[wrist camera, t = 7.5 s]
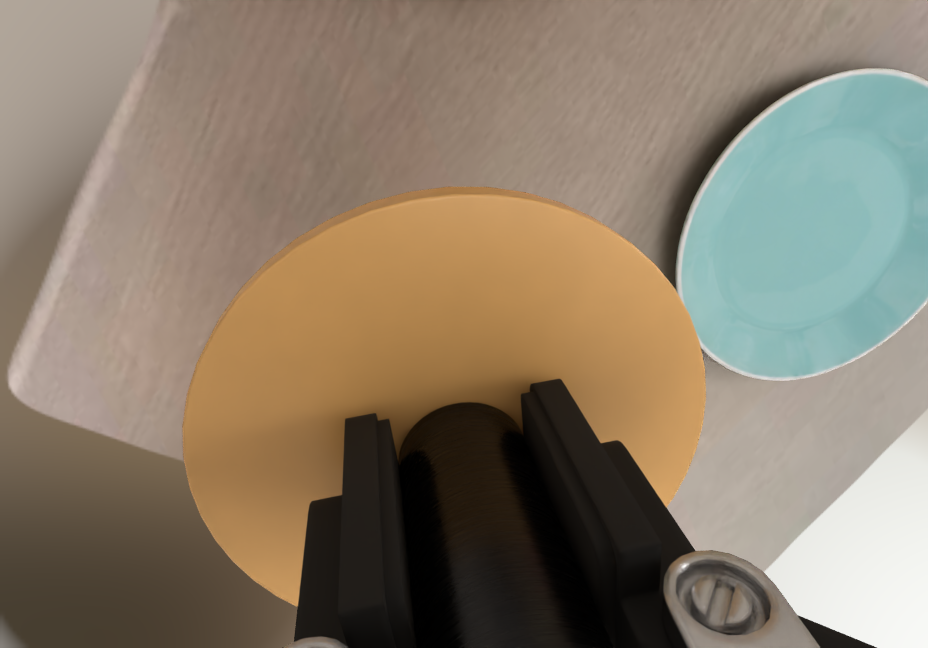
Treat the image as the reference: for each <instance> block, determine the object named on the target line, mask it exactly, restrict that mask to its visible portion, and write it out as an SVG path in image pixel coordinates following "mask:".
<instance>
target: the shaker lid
mask: <svg viewBox="0 0 928 648" xmlns="http://www.w3.org/2000/svg"><path fill="white" fill-rule="evenodd" d="M554 379H561V380H562V381H563V382H564V384H565V386H566V387H567V389H568V391H569V392H570V394H571V396H572V397H573V399H574V400H575V402H576V404H577V405H578V407H579V409H580V410H581V412H582V413H583V415H584V417H585V418H586V420H587V422H588V423H589V425H590V426H591V428H592V430H593V431H594V433H595V435H596V436H597V438H598V440H599V441H600V443H605V442H610V441H615V440H618V441H620V442H622V443H623V445H624V446H625V447H626V448H627V450H628V451H629V453H630V454H631V456H632V457H633V459H634V460H635V462H636V463H637V465H638V466H639V468H640V469H641V471H642V472H643V474H644V475H645V477H646V478H647V480H648V481H649V483H650V484H651V486H652V487H653V489H654V490H655V492H656V493H657V495H658V496H659V497H660V499H661V500H662V502H663V503H664V505H665V506H666V508H667V506H668V505H669V503H670V502H671V500H672V499H673V498H674V496H675V494H676V492H677V490H678V488H679V487H680V485H681V483H682V481H683V479H684V478H685V476H686V474H687V471H688V469H689V466H690V464H691V461H692V459H693V456H694V454H695V451H696V448H697V445H698V441H699V437H700V433H701V429H702V425H703V418H704V409H705V401H706V385H705V367H704V362H703V357H702V352H701V346H700V341H699V339H698V336H697V333H696V330H695V328H694V325H693V322H692V320H691V317H690V314H689V312H688V311H687V309H686V307H685V305H684V304H683V302H682V300H681V298H680V297H679V295H678V293H677V291H676V289H675V288H674V287H673V286H672V284H671V283H670V282H669V281H668V279H667V278H666V277H665V276H664V274H663V273H662V272H661V271H660V269H659V268H658V267H657V266H656V265H655V264H654V263H653V262H652V261H651V260H650V259H649V258H648V257H646V256H645V255H644V254H643V253H642V252H641V251H640V250H639V249H638V248H636V247H635V246H634V245H633V244H632V243H631V242H629V241H628V240H626V239H625V238H624V237H622V236H621V235H619V234H618V233H616V232H615V231H613V230H612V229H610V228H609V227H607V226H605V225H604V224H602V223H601V222H599V221H598V220H596V219H595V218H593V217H591V216H589V215H587V214H585V213H583V212H580V211H578V210H576V209H574V208H571V207H569V206H567V205H565V204H563V203H560V202H557V201H554V200H550V199H547V198H543V197H540V196H536V195H533V194H529V193H526V192H519V191H512V190H505V189H498V188H491V187H443V188H435V189H428V190H420V191H412V192H406V193H403V194H399V195H395V196H391V197H388V198H384V199H380V200H376V201H372V202H369V203H367V204H364V205H362V206H359V207H357V208H354V209H352V210H350V211H347V212H345V213H342V214H340V215H337V216H335V217H333V218H331V219H329V220H327V221H325V222H324V223H322V224H320V225H319V226H317V227H315V228H313V229H312V230H310V231H308V232H306V233H305V234H303V235H301V236H300V237H298V238H296V239H295V240H294V241H293V242H291V243H290V244H289V245H287V246H286V247H285V248H284V249H282V250H281V251H280V252H278V253H277V254H276V255H275V256H273V257H272V258H271V259H269V260H268V261H267V262H266V263H265V264H264V265H263V266H262V267H261V268H260V269H259V270H258V271H257V272H256V273H255V274H254V275H253V276H252V277H251V278H250V279H249V280H248V282H247V283H246V284H245V285H244V286H243V287H242V288H241V289H240V290H239V292H238V293H237V294H236V296H235V297H234V299H233V300H232V301H231V303H230V304H229V306H228V307H227V308H226V310H225V311H224V313H223V314H222V315H221V317H220V318H219V320H218V322H217V324H216V326H215V328H214V330H213V332H212V334H211V336H210V338H209V340H208V342H207V344H206V346H205V348H204V350H203V352H202V354H201V356H200V358H199V360H198V362H197V364H196V368H195V371H194V374H193V377H192V380H191V383H190V387H189V390H188V393H187V398H186V405H185V412H184V419H183V426H182V428H183V458H184V462H185V467H186V472H187V476H188V482H189V487H190V489H191V492H192V494H193V497H194V500H195V502H196V505H197V507H198V510H199V512H200V515H201V517H202V518H203V520H204V522H205V524H206V525H207V527H208V528H209V530H210V532H211V534H212V535H213V537H214V538H215V540H216V541H217V542H218V544H219V545H220V546H221V547H222V549H223V550H224V551H225V552H226V554H227V555H228V556H229V557H230V558H231V560H232V561H233V562H234V563H235V564H236V565H238V566H239V567H240V568H241V569H242V570H243V571H244V572H245V573H246V574H247V575H248V576H250V577H251V578H252V579H253V580H254V581H256V582H257V583H258V584H260V585H261V586H263V587H264V588H266V589H267V590H269V591H270V592H271V593H273V594H274V595H276V596H277V597H279V598H281V599H283V600H285V601H287V602H289V603H291V604H293V605H295V606H297V607H298V601H299V591H300V582H301V573H302V564H303V555H304V546H305V537H306V527H307V518H308V510H309V505H310V503H311V501H314V500H319V499H324V498H329V497H334V496H339V495H342V484H343V457H344V431H345V419H346V418H351V417H356V416H362V415H367V414H372V413H376V414H377V418H378V421H379V420H384V419H389V421H390V425H391V430H392V434H393V439H394V444H395V449H396V454H397V459H398V464H399V469H400V479H401V490H402V500H403V510H404V521H405V531H406V541H407V551H408V562H409V572H410V582H411V592H412V603H413V613H414V623H415V634H416V644H417V648H614V646H613V644H612V642H611V639H610V637H609V635H608V632H607V630H606V628H605V625H604V623H603V621H602V618H601V617H600V615H599V612H598V610H597V608H596V605H595V603H594V601H593V598H592V596H591V594H590V591H589V589H588V586H587V584H586V582H585V579H584V577H583V575H582V572H581V570H580V568H579V565H578V563H577V561H576V558H575V556H574V554H573V551H572V549H571V547H570V544H569V542H568V540H567V537H566V535H565V533H564V530H563V528H562V525H561V523H560V521H559V518H558V516H557V514H556V511H555V509H554V507H553V504H552V502H551V500H550V497H549V495H548V493H547V490H546V488H545V486H544V483H543V481H542V479H541V476H540V474H539V471H538V469H537V467H536V464H535V462H534V460H533V457H532V455H531V453H530V450H529V448H528V446H527V443H526V441H525V439H524V435H523V423H522V410H521V394H522V393H527V392H530V385H531V384H533V383H538V382H543V381H549V380H554Z"/></svg>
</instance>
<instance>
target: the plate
mask: <svg viewBox="0 0 928 648" xmlns="http://www.w3.org/2000/svg"><path fill="white" fill-rule="evenodd" d="M675 280H676V291H677V293H678V295H679V297H680V298H681V300H682V302H683V304H684V305H685V307H686V309H687V311H688V312H689V314H690V317H691V320H692V322H693V325H694V328H695V330H696V333H697V336H698V339H699V341H700V346H701V349H702V350H703V351H704V352H705V353H706V354H707V355H708V356H710V357H711V358H712V359H713V360H714V361H716V362H717V363H719V364H720V365H722V366H723V367H725V368H727V369H729V370H731V371H733V372H736V373H738V374H741V375H744V376H747V377H751V378H755V379H760V380H771V381H787V380H797V379H803V378H808V377H813V376H816V375H820V374H824V373H827V372H830V371H832V370H835V369H837V368H840V367H842V366H844V365H846V364H848V363H851V362H853V361H855V360H857V359H858V358H860V357H862V356H864V355H866V354H867V353H869V352H870V351H872V350H874V349H875V348H877V347H878V346H880V345H881V344H883V343H884V342H885V341H887V340H888V339H889V338H891V337H892V336H893V335H894V334H896V333H897V332H898V331H899V330H900V329H901V328H903V327H904V326H905V325H906V324H907V323H908V322H909V321H910V320H911V319H912V318H913V317H914V316H915V315H916V314H917V313H918V312H919V311H920V310H921V309H922V308H923V307H924V305H925V304H926V303H927V302H928V81H927V80H925V79H923V78H921V77H919V76H916V75H914V74H911V73H907V72H904V71H899V70H895V69H885V68H865V69H855V70H849V71H844V72H839V73H835V74H832V75H828V76H825V77H822V78H820V79H817V80H814V81H812V82H809V83H807V84H805V85H803V86H801V87H799V88H797V89H795V90H793V91H792V92H790V93H788V94H786V95H785V96H783V97H782V98H780V99H779V100H777V101H776V102H774V103H773V104H772V105H770V106H769V107H767V108H766V109H765V110H764V111H762V112H761V113H760V114H759V115H758V116H756V117H755V118H754V119H753V120H752V121H751V122H750V123H749V124H748V125H747V126H745V127H744V128H743V129H742V130H741V131H740V132H739V134H738V135H737V136H736V137H735V138H734V139H733V140H732V141H731V142H730V143H729V144H728V146H727V147H726V148H725V149H724V151H723V152H722V153H721V154H720V156H719V157H718V158H717V160H716V161H715V163H714V164H713V166H712V167H711V169H710V170H709V172H708V173H707V175H706V177H705V178H704V180H703V182H702V184H701V186H700V187H699V189H698V191H697V193H696V195H695V197H694V199H693V201H692V204H691V206H690V209H689V211H688V214H687V217H686V219H685V222H684V225H683V229H682V233H681V236H680V241H679V246H678V252H677V259H676V279H675Z"/></svg>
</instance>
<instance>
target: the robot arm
mask: <svg viewBox="0 0 928 648" xmlns="http://www.w3.org/2000/svg"><path fill="white" fill-rule="evenodd" d="M521 410H522V423H523V435H524V439H525V441H526V443H527V446H528V448H529V450H530V453H531V455H532V457H533V460H534V462H535V464H536V467H537V469H538V471H539V474H540V476H541V479H542V481H543V483H544V486H545V488H546V490H547V493H548V495H549V497H550V500H551V502H552V504H553V507H554V509H555V511H556V514H557V516H558V518H559V521H560V523H561V525H562V528H563V530H564V533H565V535H566V537H567V540H568V542H569V544H570V547H571V549H572V551H573V554H574V556H575V558H576V561H577V563H578V565H579V568H580V570H581V572H582V575H583V577H584V579H585V582H586V584H587V586H588V589H589V591H590V594H591V596H592V598H593V601H594V603H595V605H596V608H597V610H598V612H599V615H600V617H601V618H602V621H603V623H604V625H605V628H606V630H607V632H608V635H609V637H610V639H611V642H612V644H613V646H614V648H876V647H874V646H872V645H869V644H866V643H864V642H862V641H859V640H857V639H854V638H852V637H849V636H847V635H845V634H842V633H840V632H837V631H835V630H832V629H830V628H827V627H825V626H823V625H820V624H818V623H815V622H813V621H810V620H808V619H805V618H803V617H800V616H798V615H797V614H796V613H795V612H794V610H793V609H792V607H791V606H790V605H789V603H788V602H787V600H786V599H785V598H784V597H783V595H782V594H781V592H780V591H779V589H778V588H777V587H776V585H775V584H774V583H773V582H772V581H771V580H770V579H769V578H768V577H767V575H766V574H765V573H764V572H763V571H761V570H760V569H758V568H757V567H755V566H754V565H753V564H751V563H750V562H748V561H746V560H744V559H741V558H739V557H737V556H734V555H732V554H729V553H724V552H718V551H713V550H709V551H695V550H694V548H693V547H692V545H691V544H690V542H689V541H688V539H687V538H686V536H685V535H684V533H683V532H682V530H681V529H680V527H679V526H678V524H677V523H676V521H675V520H674V518H673V517H672V515H671V514H670V512H669V511H668V509H667V508H666V506H665V505H664V503H663V502H662V500H661V499H660V497H659V496H658V495H657V493H656V492H655V490H654V489H653V487H652V486H651V484H650V483H649V481H648V480H647V478H646V477H645V475H644V474H643V472H642V471H641V469H640V468H639V466H638V465H637V463H636V462H635V460H634V459H633V457H632V456H631V454H630V453H629V451H628V450H627V448H626V447H625V446H624V445H623V443H622V442H620V441H618V440H615V441H610V442H605V443H600V441H599V440H598V438H597V436H596V435H595V433H594V431H593V430H592V428H591V426H590V425H589V423H588V422H587V420H586V418H585V417H584V415H583V413H582V412H581V410H580V409H579V407H578V405H577V404H576V402H575V400H574V399H573V397H572V396H571V394H570V392H569V391H568V389H567V387H566V386H565V384H564V382H563V381H562V380H561V379H554V380H549V381H543V382H538V383H533V384H531V385H530V392H527V393H522V394H521ZM283 648H417V644H416V634H415V623H414V613H413V603H412V592H411V582H410V572H409V562H408V551H407V541H406V531H405V521H404V510H403V500H402V490H401V479H400V469H399V464H398V459H397V454H396V449H395V444H394V439H393V434H392V430H391V425H390V421H389V419H384V420H379V421H378V418H377V414H376V413H372V414H367V415H362V416H356V417H351V418H346V419H345V431H344V457H343V484H342V495H339V496H334V497H329V498H324V499H319V500H314V501H311V503H310V505H309V510H308V518H307V527H306V537H305V546H304V555H303V564H302V573H301V582H300V591H299V601H298V610H297V619H296V628H295V637H294V642H293V643H290V644H288V645H286V646H284V647H283Z"/></svg>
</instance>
